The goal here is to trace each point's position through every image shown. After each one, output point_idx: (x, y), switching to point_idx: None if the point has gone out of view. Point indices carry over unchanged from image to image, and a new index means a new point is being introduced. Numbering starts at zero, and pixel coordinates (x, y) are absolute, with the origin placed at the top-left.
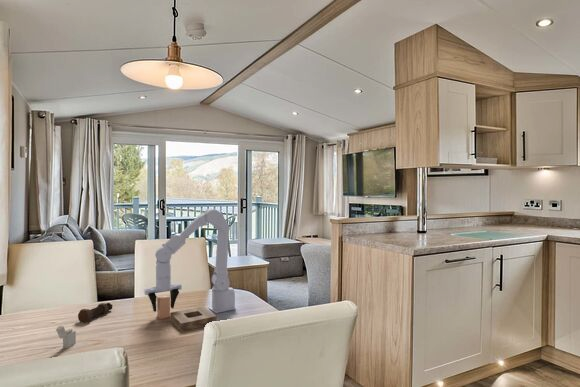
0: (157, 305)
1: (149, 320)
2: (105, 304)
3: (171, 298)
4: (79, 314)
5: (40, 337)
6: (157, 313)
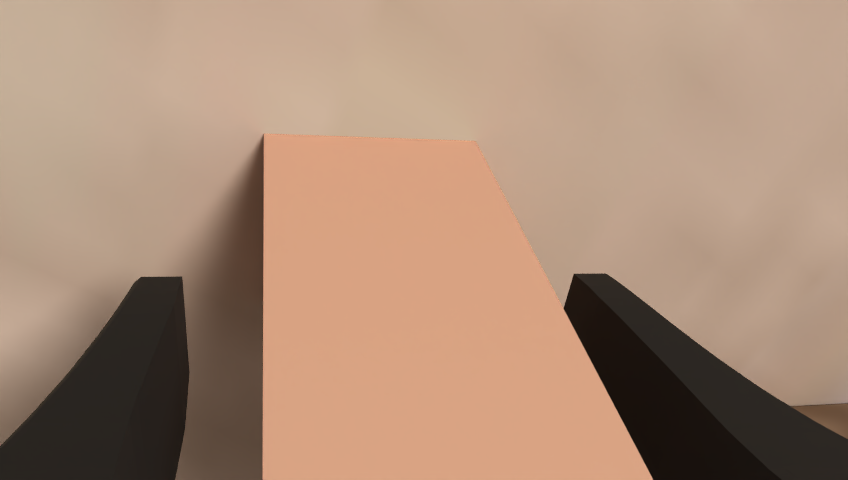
0: (263, 298)
1: (57, 293)
2: None
3: (674, 475)
4: None
5: None
6: (264, 173)
